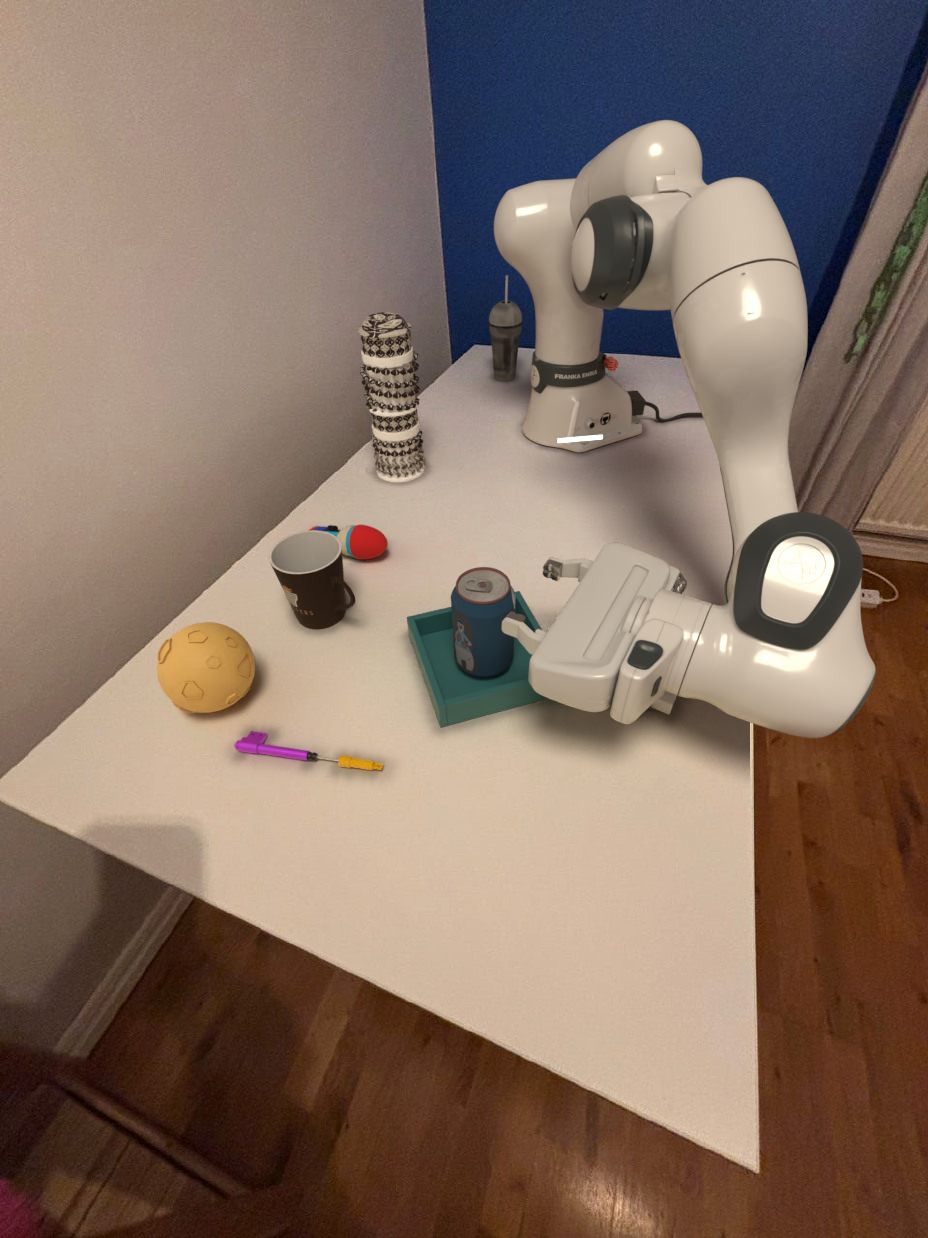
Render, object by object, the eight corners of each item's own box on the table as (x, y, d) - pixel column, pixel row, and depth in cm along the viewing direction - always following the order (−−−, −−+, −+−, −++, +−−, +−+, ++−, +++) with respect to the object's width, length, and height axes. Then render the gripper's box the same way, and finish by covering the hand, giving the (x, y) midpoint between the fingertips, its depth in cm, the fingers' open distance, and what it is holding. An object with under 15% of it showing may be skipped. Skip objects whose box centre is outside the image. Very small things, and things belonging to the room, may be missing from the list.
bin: (518, 610, 77) (519, 590, 75) (565, 694, 67) (567, 673, 65) (409, 636, 74) (406, 616, 72) (440, 727, 64) (438, 707, 62)
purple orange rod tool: (233, 752, 62) (380, 775, 60) (231, 744, 62) (380, 766, 60) (246, 735, 65) (388, 757, 62) (244, 727, 64) (387, 748, 62)
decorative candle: (436, 473, 103) (426, 318, 86) (389, 489, 100) (368, 331, 83) (412, 452, 109) (397, 303, 92) (366, 466, 106) (342, 315, 89)
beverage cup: (486, 383, 131) (485, 281, 117) (490, 370, 136) (490, 271, 122) (519, 384, 130) (522, 282, 116) (522, 371, 135) (526, 272, 121)
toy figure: (292, 563, 88) (377, 572, 82) (281, 533, 86) (368, 540, 79) (321, 538, 94) (403, 545, 88) (312, 510, 91) (395, 515, 85)
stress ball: (166, 688, 69) (130, 627, 63) (247, 652, 73) (222, 590, 67) (191, 747, 63) (155, 686, 57) (278, 703, 67) (254, 641, 60)
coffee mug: (282, 601, 80) (263, 541, 73) (345, 584, 82) (331, 523, 75) (300, 659, 72) (281, 598, 65) (369, 638, 74) (357, 576, 68)
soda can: (517, 644, 72) (520, 566, 64) (508, 687, 67) (511, 609, 59) (461, 637, 73) (457, 560, 65) (448, 679, 69) (443, 601, 60)
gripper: (699, 550, 59) (569, 513, 64) (633, 692, 46) (477, 633, 52) (685, 597, 63) (564, 559, 69) (620, 739, 51) (478, 680, 56)
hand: (526, 592), depth 60 cm, fingers open, 8 cm apart
